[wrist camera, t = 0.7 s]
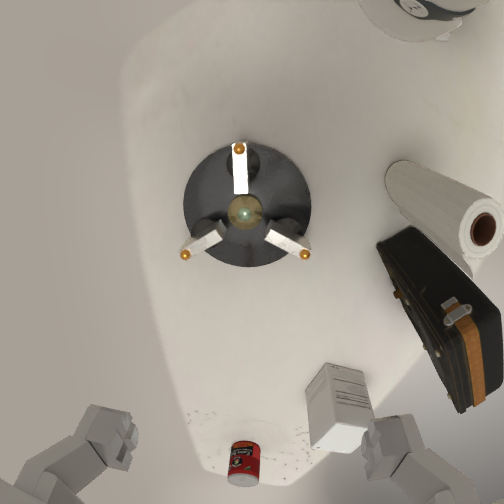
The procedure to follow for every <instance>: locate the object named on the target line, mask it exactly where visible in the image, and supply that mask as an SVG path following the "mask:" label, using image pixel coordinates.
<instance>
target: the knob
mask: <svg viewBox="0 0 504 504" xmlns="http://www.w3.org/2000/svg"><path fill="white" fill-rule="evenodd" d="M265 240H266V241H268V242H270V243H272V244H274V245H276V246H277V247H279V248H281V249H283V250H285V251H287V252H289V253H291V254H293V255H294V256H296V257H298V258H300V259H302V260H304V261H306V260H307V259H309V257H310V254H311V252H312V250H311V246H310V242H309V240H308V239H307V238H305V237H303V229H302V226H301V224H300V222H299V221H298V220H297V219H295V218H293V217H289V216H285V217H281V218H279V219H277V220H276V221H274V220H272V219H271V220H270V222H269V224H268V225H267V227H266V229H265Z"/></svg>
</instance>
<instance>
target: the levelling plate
mask: <svg viewBox="0 0 504 504" xmlns="http://www.w3.org/2000/svg"><path fill="white" fill-rule="evenodd" d="M249 148H251V149H253V150H254V151H256V152H257V154H258V155H259V158H260V169H259V171H258V173H257V175H256V176H255V177H253V178H252V179H250V188H249V192H248V194H234V178H233V177H232V176H231V175H230V174H229V172H228V170H227V167H226V161H227V158H228V156H229V154H230V153H231V152H232V151H233V150H232V145H231V146H227V147H225V148H222V149H220V150H218V151H216V152H214V153H213V154H211V155H210V156H208V157H207V158H206V159H204V160H203V161H202V162H201V163H200V164H199V165H198V166H197V168H196V169H195V170H194V172H193V173H192V175H191V177H190V178H189V181H188V183H187V186H186V189H185V193H184V201H183V207H184V216H185V220H186V223H187V226H188V229H189V231H190V233H191V229H192V227H193V225H194V224H195V223H196V221H197V220H199V219H201V218H204V217H210V218H213V219H215V220H217V221H219V220H221V221H222V223H223V224H224V226H225V227H226V228H227V230H226V232H225V235H224V238H223V240H221V241H220V243H219V244H218V245H217V246H216V247H214V248H212V249H206V250H205V251H206V252H207V253H208V254H210V255H211V256H213V257H214V258H216V259H218V260H220V261H222V262H224V263H227V264H231V265H234V266H240V267H257V266H262V265H266V264H270V263H272V262H275V261H277V260H279V259H281V258H282V257H284V256H286V255H287V254H288V253H289V252H287V251H285V250H283V249H281V248H279V247H277V246H276V245H274V244H272V243H270V242H268V241H266V240H265V229H266V227H267V225H268V224H269V222H270V220H271V219H272V220H274V221H276V220H277V219H279V218H281V217H285V216H289V217H293V218H295V219H297V220H298V221H299V222H300V224H301V226H302V229H303V236H304V234H305V232H306V230H307V227H308V224H309V220H310V215H311V199H310V193H309V190H308V187H307V184H306V182H305V180H304V178H303V176H302V174H301V173H300V171H299V170H298V168H297V167H296V166H295V165H294V164H293V163H292V161H290V160H289V159H288V158H287V157H286V156H284V155H283V154H281V153H280V152H278V151H276V150H274V149H272V148H269V147H266V146H263V145H258V144H249Z"/></svg>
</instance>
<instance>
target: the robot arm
mask: <svg viewBox="0 0 504 504" xmlns="http://www.w3.org/2000/svg"><path fill="white" fill-rule="evenodd" d="M490 1H493V0H358V3H359V5H360V7H361V9H362V11H363V12H364V14H365V15H366V16H367V18H368V19H369V20H370V21H371V22H372V23H373V24H374V25H375V26H376V27H377V28H379V29H380V30H381V31H383V32H384V33H386V34H388V35H389V36H391V37H394V38H396V39H399V40H402V41H407V42H422V41H427V40H438V41H448V40H449V39H450V35H451V31H452V30H454V29H456V28H458V27H460V26H461V25H462V19H463V17H465V16H467V15H468V14H470V13H471V12H473V11H474V10H475V8H476V7H477V6H480V5H482V4H485V3H488V2H490ZM447 33H448V34H447ZM131 420H132V416H131V415H130V413H129V412H125V411H120V410H114V409H110V408H106V407H102V406H97V405H93V404H91V405H90V406H89V407H88V408H87V410H86V412H85V414H84V416H83V418H82V419H81V421H80V423H79V426H78V427H77V429H76V431H75V433H74V435H73V436H68V437H66V438H65V439H63V440H61V441H60V442H58V443H56V444H55V445H53V446H51V447H50V448H48V449H46V450H44V451H43V452H41V453H39V454H38V455H36V456H34V457H32V458H31V459H29V460H27V461H26V463H25V465H24V467H23V468H22V471H21V472H20V474H19V476H18V478H17V480H16V482H15V484H14V486H13V485H11V484H9V483H7V482H6V481H4V480H2V479H1V478H0V504H84V502H83V501H82V500H81V499H80V498H79V497H78V496H76V494H77V493H78V492H79V491H81V490H82V489H83V488H84V487H85V486H87V485H88V484H89V483H90V482H91V481H92V480H94V479H95V478H96V477H97V476H99V475H100V474H101V473H102V472H103V471H104V470H105V469H107V467H110V468H114V469H118V470H123V471H128V469H129V466H130V464H131V460H132V458H133V457H132V455H131V453H130V452H131V451H133V450H134V449H135V448H136V446H137V443H138V435H139V434H138V429H137V427H136V425H135V424H133V423H132V422H131ZM367 428H368V430H367V431H365V432H364V434H363V436H362V441H361V449H362V455H363V457H364V458H366V459H367V460H368V461H367V463H366V465H365V471H366V476H367V480H368V481H372V480H380V479H385V478H390V480H391V481H392V482H393V483H394V484H395V485H396V486H397V487H398V488H399V489H400V490H401V491H402V492H403V493H404V494H405V495H406V496H407V497H408V498H409V499H410V500H411V501H412V502H413V503H414V504H480V501H479V498H478V495H477V492H476V489H475V486H474V484H473V481H472V480H471V479H470V478H469V477H467V476H466V475H465V474H463V473H462V472H460V471H459V470H458V469H456V468H455V467H454V466H452V465H451V464H449V463H448V462H447V461H445V460H444V459H443V458H441V457H440V456H439V455H437V454H436V453H435V452H433V451H432V450H431V449H429V448H428V449H425V446H424V443H423V441H422V438H421V435H420V433H419V430H418V428H417V425H416V422H415V419H414V417H413V415H412V414H404V415H398V416H390V417H383V418H377V419H371V420H369V422H368V424H367ZM492 504H504V498H502V499H500V500H498V501H496V502H494V503H492Z"/></svg>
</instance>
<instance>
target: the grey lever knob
mask: <svg viewBox="0 0 504 504" xmlns="http://www.w3.org/2000/svg"><path fill="white" fill-rule="evenodd" d="M226 230H227V228H226V227H225V226H224V224H223V223H222V221H221V220H219V221H217V220H215V219H213V218H210V217H204V218H201V219H199V220H197V221H196V223H195V224H194V225H193V227H192V229H191V238H189V239H187V240H186V241H185V243H184V244H183V246H182V247H181V249H180V251H179V253H180V256H181V258H182V259H183V260H185V261H187V260H189V259H190V258H192V257H194V256H196V255H197V254H199V253H201V252H202V251H204V250H206V249H212V248H214V247H216V246H217V245H218V244H219V243H220V241H221V240H223V238H224V235H225V232H226Z"/></svg>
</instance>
